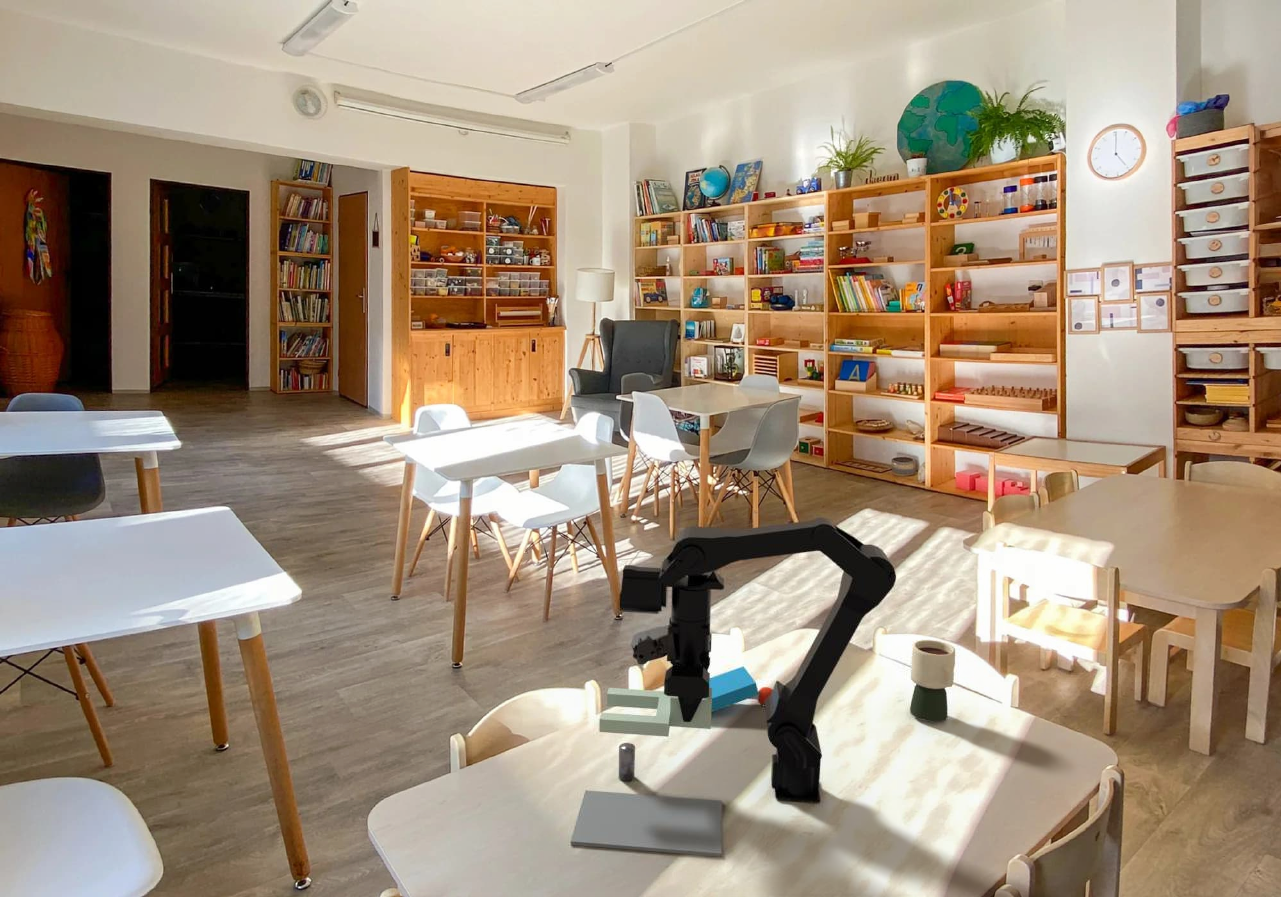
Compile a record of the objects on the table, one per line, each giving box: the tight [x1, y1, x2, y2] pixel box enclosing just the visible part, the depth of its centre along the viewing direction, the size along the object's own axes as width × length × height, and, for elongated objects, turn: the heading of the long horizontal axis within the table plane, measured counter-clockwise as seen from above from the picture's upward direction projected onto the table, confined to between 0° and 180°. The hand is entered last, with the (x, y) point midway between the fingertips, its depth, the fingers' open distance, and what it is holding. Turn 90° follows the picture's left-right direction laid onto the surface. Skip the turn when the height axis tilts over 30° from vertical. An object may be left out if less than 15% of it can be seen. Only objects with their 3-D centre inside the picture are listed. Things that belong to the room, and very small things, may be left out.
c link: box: [598, 687, 712, 737], centre depth 127 cm, size 16×10×4 cm, turn 84°
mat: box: [570, 789, 723, 858], centre depth 119 cm, size 20×12×1 cm, turn 84°
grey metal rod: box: [618, 742, 636, 783], centre depth 130 cm, size 2×2×5 cm
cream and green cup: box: [909, 639, 956, 722], centre depth 150 cm, size 11×7×13 cm, turn 17°
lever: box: [709, 666, 773, 713], centre depth 153 cm, size 7×7×18 cm
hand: (687, 714), depth 127 cm, fingers closed on c link, 4 cm apart
